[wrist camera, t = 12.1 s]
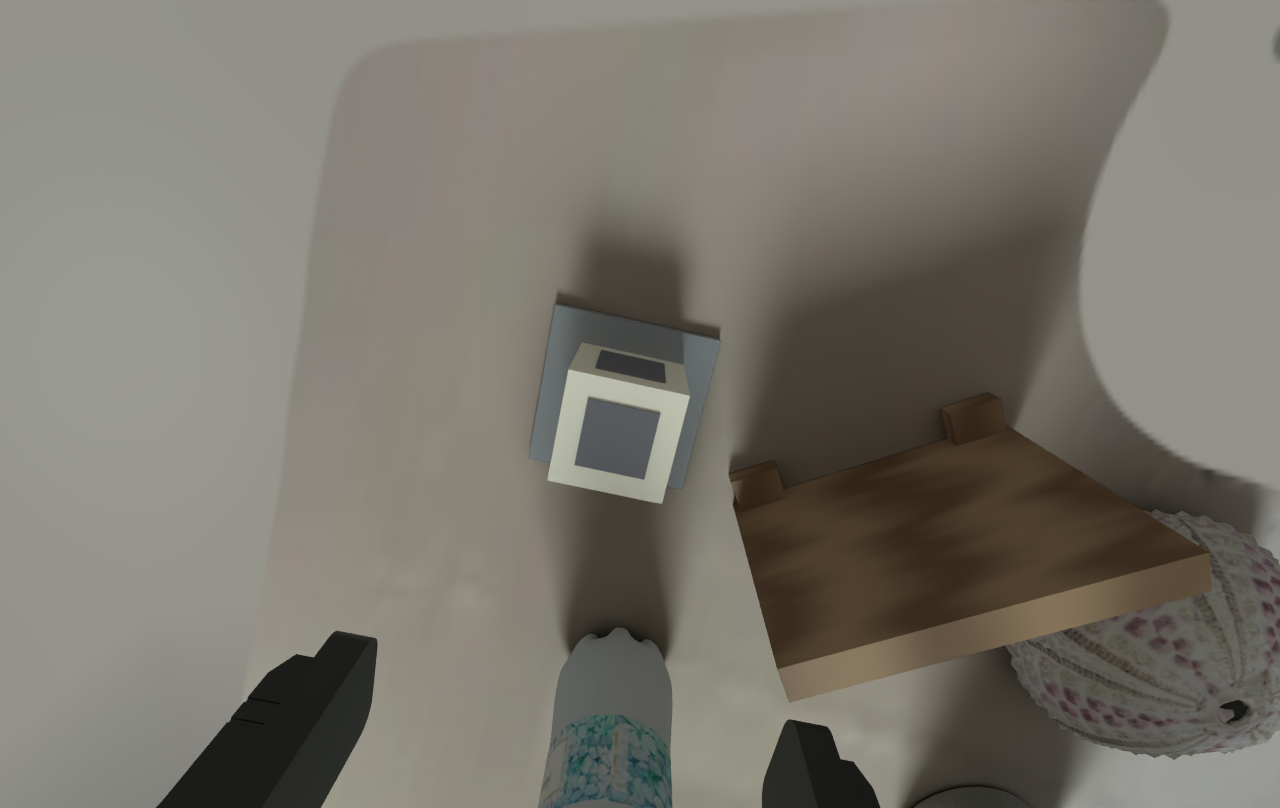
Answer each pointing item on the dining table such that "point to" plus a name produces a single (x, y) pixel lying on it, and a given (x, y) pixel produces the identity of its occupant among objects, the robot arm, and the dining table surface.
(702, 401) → the slate coaster
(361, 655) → the robot arm
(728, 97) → the dining table surface
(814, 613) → the walnut screen
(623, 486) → the white marker cube
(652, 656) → the bottle
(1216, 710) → the sea urchin shell
